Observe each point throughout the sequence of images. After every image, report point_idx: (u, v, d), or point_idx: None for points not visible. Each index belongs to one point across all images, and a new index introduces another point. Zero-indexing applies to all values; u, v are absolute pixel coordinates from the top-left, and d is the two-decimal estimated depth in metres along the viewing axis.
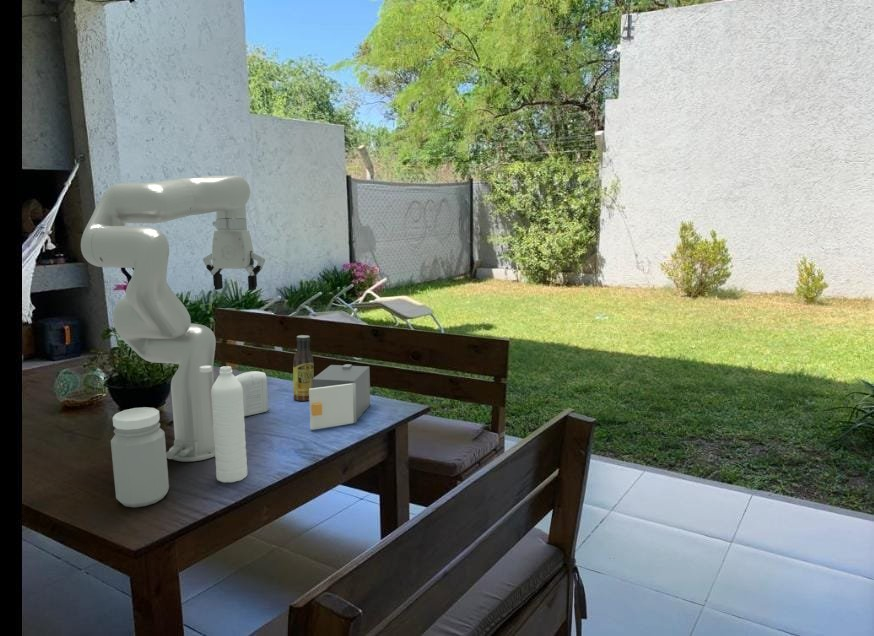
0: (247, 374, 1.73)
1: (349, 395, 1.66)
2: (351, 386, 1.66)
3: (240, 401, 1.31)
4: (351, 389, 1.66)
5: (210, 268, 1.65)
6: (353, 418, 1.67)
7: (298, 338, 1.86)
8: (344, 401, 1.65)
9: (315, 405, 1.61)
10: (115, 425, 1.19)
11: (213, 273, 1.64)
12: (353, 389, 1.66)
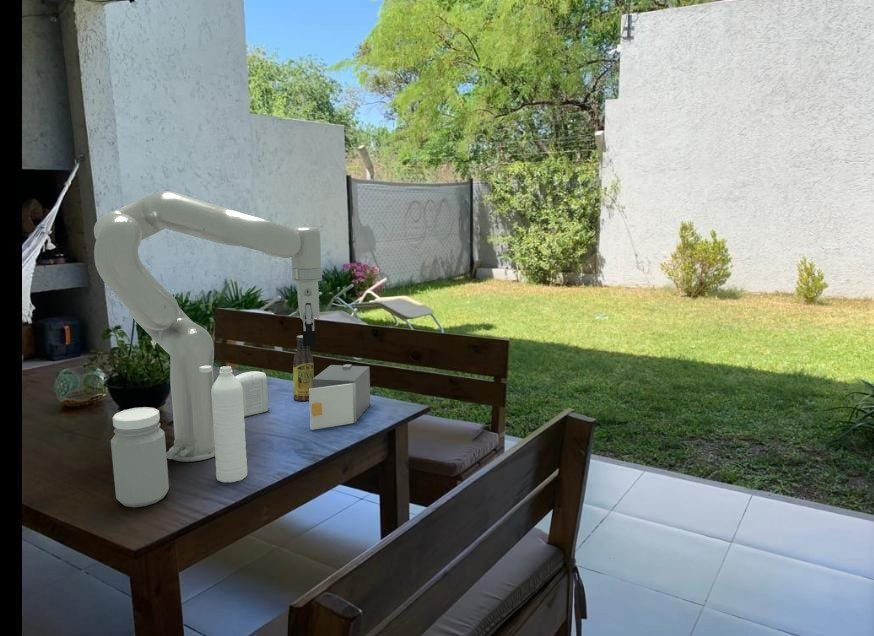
0: (247, 374, 1.73)
1: (349, 395, 1.66)
2: (351, 386, 1.66)
3: (240, 401, 1.31)
4: (351, 389, 1.66)
5: (312, 325, 1.58)
6: (353, 418, 1.67)
7: (298, 338, 1.86)
8: (344, 401, 1.65)
9: (315, 405, 1.61)
10: (115, 425, 1.19)
11: (314, 329, 1.59)
12: (353, 389, 1.66)
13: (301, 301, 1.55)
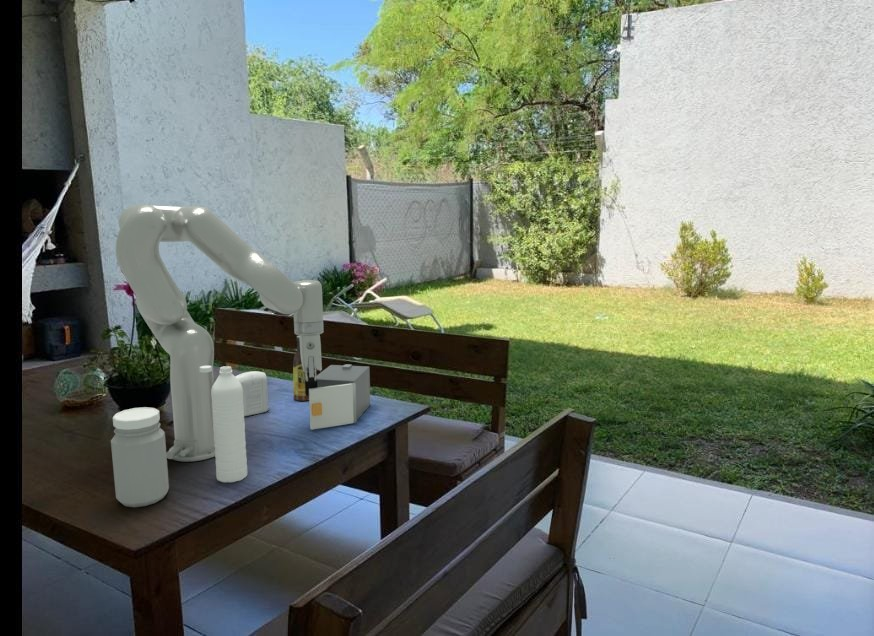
0: (247, 374, 1.73)
1: (349, 395, 1.66)
2: (351, 386, 1.66)
3: (240, 401, 1.31)
4: (351, 389, 1.66)
5: (314, 375, 1.61)
6: (353, 418, 1.67)
7: (298, 338, 1.86)
8: (344, 401, 1.65)
9: (315, 405, 1.61)
10: (115, 425, 1.19)
11: (316, 379, 1.63)
12: (353, 389, 1.66)
13: (304, 354, 1.57)
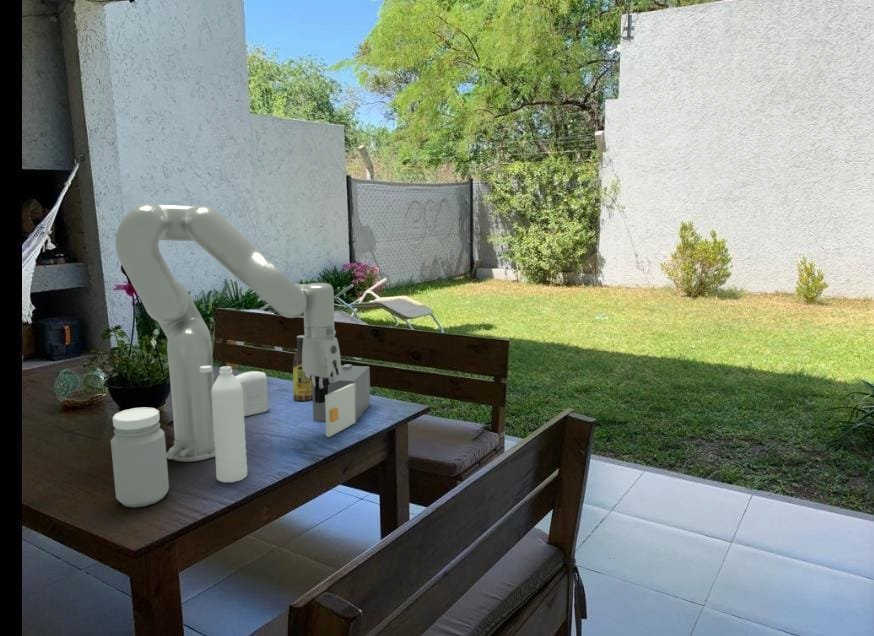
0: (247, 374, 1.73)
1: (352, 395, 1.65)
2: (353, 386, 1.66)
3: (240, 401, 1.31)
4: (353, 389, 1.66)
5: None
6: (355, 417, 1.68)
7: (298, 338, 1.86)
8: (349, 402, 1.64)
9: (334, 410, 1.57)
10: (115, 425, 1.19)
11: None
12: (354, 389, 1.66)
13: (328, 359, 1.52)
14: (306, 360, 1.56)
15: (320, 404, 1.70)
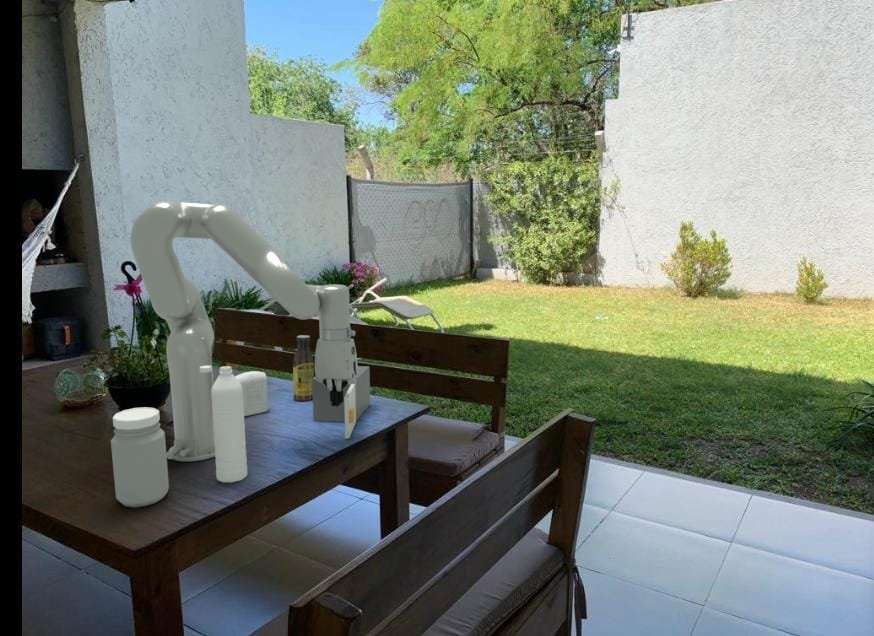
0: (247, 374, 1.73)
1: (354, 395, 1.66)
2: (354, 386, 1.66)
3: (240, 401, 1.31)
4: (354, 389, 1.66)
5: None
6: None
7: (298, 338, 1.86)
8: (354, 402, 1.64)
9: (352, 411, 1.56)
10: (115, 425, 1.19)
11: None
12: (355, 389, 1.66)
13: (350, 361, 1.51)
14: (322, 364, 1.52)
15: (320, 404, 1.70)
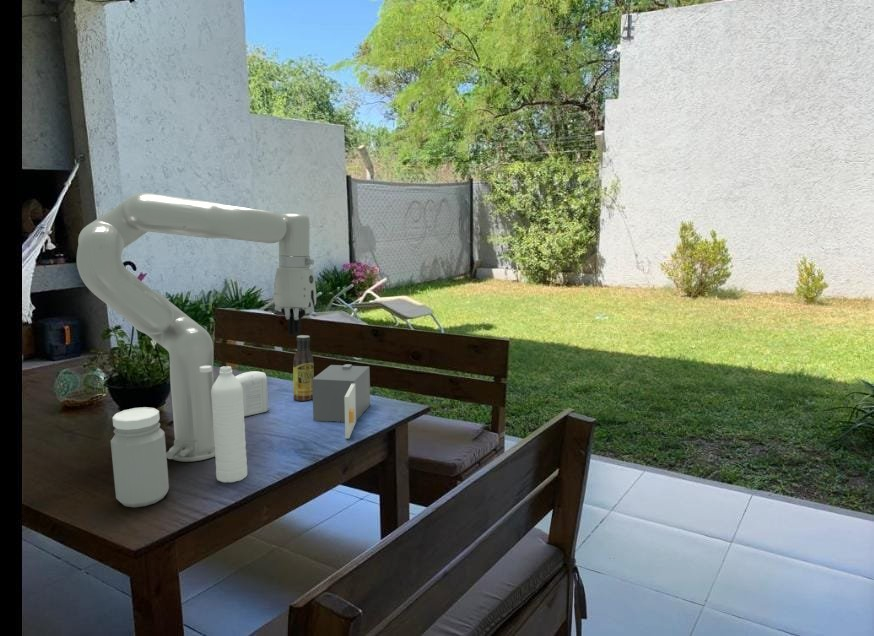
0: (247, 374, 1.73)
1: (354, 395, 1.66)
2: (354, 386, 1.66)
3: (240, 401, 1.31)
4: (354, 389, 1.66)
5: None
6: None
7: (298, 338, 1.86)
8: (354, 402, 1.64)
9: (352, 411, 1.56)
10: (115, 425, 1.19)
11: None
12: (355, 389, 1.66)
13: (308, 289, 1.52)
14: (280, 291, 1.54)
15: (320, 404, 1.70)
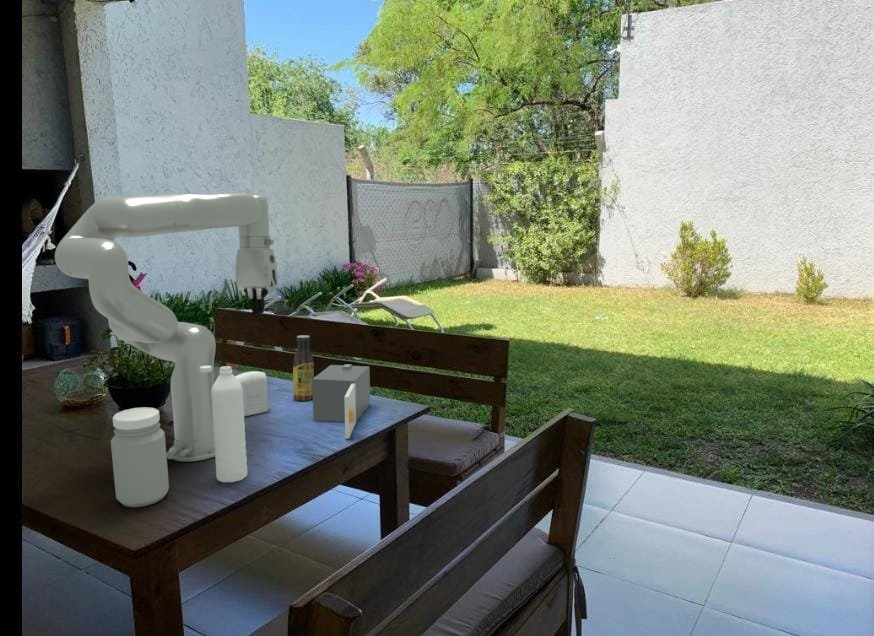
0: (247, 374, 1.73)
1: (354, 395, 1.66)
2: (354, 386, 1.66)
3: (240, 401, 1.31)
4: (354, 389, 1.66)
5: None
6: None
7: (298, 338, 1.86)
8: (354, 402, 1.64)
9: (352, 411, 1.56)
10: (115, 425, 1.19)
11: None
12: (355, 389, 1.66)
13: (269, 268, 1.57)
14: (242, 272, 1.58)
15: (320, 404, 1.70)
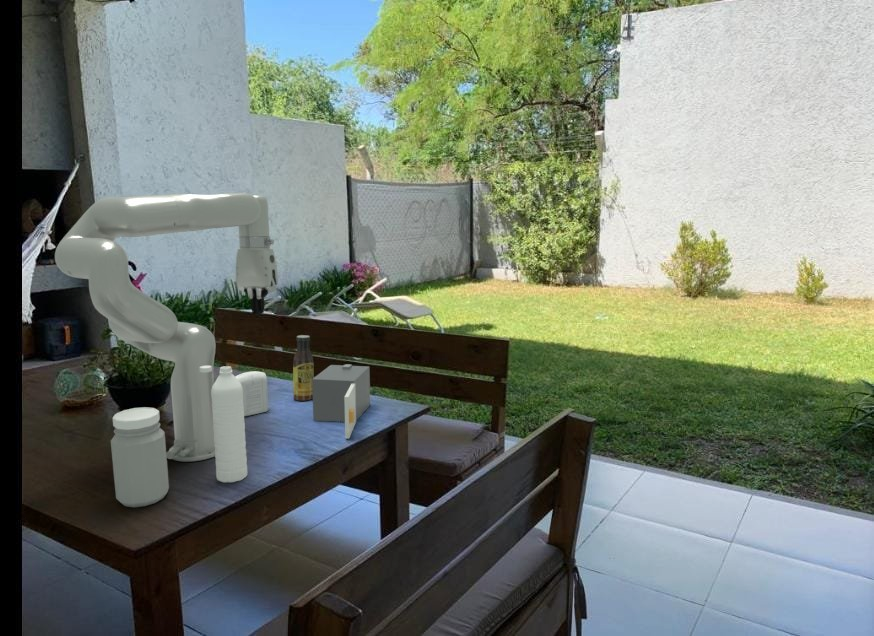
0: (247, 374, 1.73)
1: (354, 395, 1.66)
2: (354, 386, 1.66)
3: (240, 401, 1.31)
4: (354, 389, 1.66)
5: None
6: None
7: (298, 338, 1.86)
8: (354, 402, 1.64)
9: (352, 411, 1.56)
10: (115, 425, 1.19)
11: None
12: (355, 389, 1.66)
13: (269, 268, 1.57)
14: (242, 272, 1.58)
15: (320, 404, 1.70)
